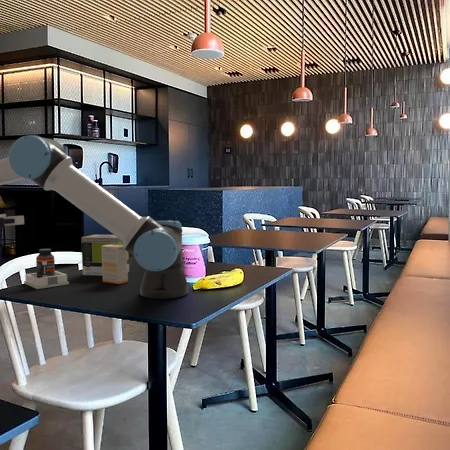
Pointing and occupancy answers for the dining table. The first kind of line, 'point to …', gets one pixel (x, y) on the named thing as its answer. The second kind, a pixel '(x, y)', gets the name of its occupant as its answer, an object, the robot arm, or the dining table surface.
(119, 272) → the supplement box
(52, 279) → the shallow beige box
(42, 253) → the supplement bottle
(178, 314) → the dining table surface
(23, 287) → the dining table surface
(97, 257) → the tea box
